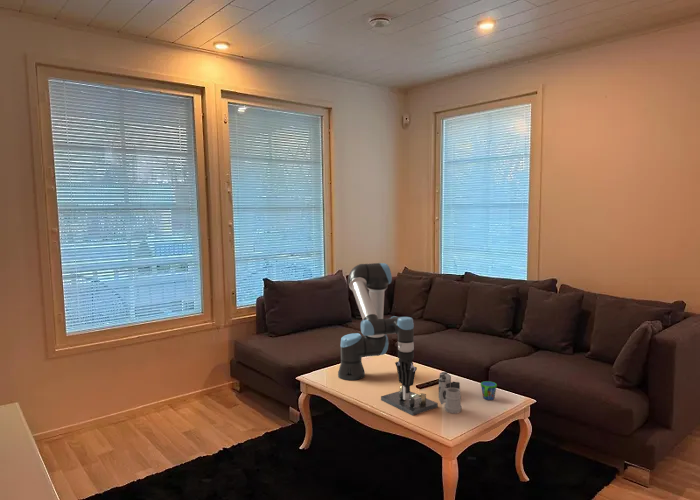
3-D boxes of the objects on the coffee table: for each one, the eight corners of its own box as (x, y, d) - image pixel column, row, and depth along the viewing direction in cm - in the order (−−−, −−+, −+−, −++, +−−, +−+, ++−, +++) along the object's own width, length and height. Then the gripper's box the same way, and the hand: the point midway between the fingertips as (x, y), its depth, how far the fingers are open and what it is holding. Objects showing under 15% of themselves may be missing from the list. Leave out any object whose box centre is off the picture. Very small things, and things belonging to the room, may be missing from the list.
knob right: (407, 405, 233) (407, 397, 233) (422, 401, 239) (422, 392, 239) (412, 407, 231) (412, 399, 230) (427, 403, 236) (427, 394, 236)
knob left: (398, 400, 241) (398, 391, 240) (400, 392, 250) (400, 385, 250) (404, 400, 240) (404, 392, 240) (406, 393, 249) (406, 385, 249)
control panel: (381, 400, 247) (380, 392, 246) (405, 393, 256) (405, 385, 255) (412, 415, 228) (412, 407, 228) (437, 407, 237) (437, 399, 237)
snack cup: (485, 393, 254) (485, 378, 254) (500, 396, 250) (500, 381, 249) (476, 400, 245) (476, 385, 244) (492, 403, 240) (492, 388, 240)
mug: (455, 415, 228) (455, 389, 227) (434, 408, 236) (434, 383, 235) (464, 410, 233) (465, 385, 232) (444, 403, 241) (444, 379, 240)
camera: (458, 400, 245) (458, 380, 244) (437, 399, 248) (437, 379, 247) (460, 389, 260) (460, 370, 259) (440, 388, 263) (440, 369, 262)
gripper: (390, 348, 239) (391, 396, 241) (409, 354, 229) (409, 404, 230) (402, 346, 243) (403, 393, 245) (421, 351, 233) (421, 401, 235)
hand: (406, 398), depth 238 cm, fingers closed
